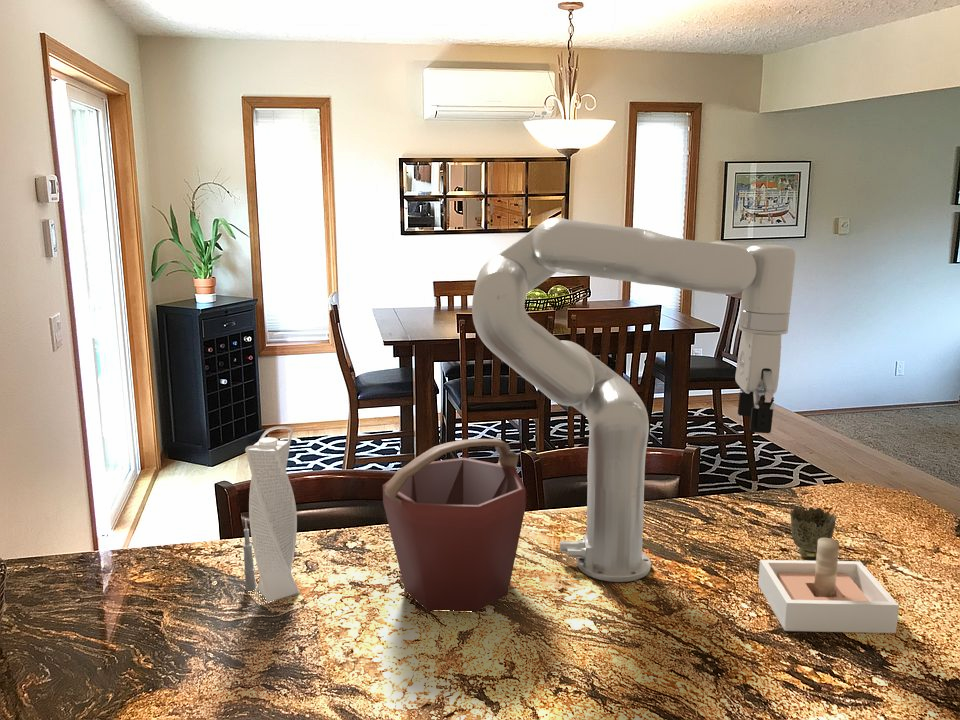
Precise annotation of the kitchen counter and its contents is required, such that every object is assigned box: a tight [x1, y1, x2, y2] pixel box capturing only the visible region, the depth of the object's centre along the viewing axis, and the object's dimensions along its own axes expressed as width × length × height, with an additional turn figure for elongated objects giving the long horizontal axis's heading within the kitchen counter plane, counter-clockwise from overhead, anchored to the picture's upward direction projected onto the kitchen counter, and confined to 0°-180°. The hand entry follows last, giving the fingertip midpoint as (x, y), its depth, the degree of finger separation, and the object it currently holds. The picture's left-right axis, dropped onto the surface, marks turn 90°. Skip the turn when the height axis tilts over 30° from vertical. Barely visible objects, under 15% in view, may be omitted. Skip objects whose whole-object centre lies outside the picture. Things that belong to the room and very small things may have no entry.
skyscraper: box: [242, 425, 301, 606], centre depth 130 cm, size 8×8×28 cm
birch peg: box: [813, 538, 840, 597], centre depth 124 cm, size 3×3×10 cm
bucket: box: [382, 438, 527, 613], centre depth 130 cm, size 24×22×25 cm
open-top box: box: [757, 559, 900, 634], centre depth 125 cm, size 16×14×4 cm
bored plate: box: [777, 573, 869, 601], centre depth 125 cm, size 11×11×2 cm
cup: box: [790, 506, 837, 561], centre depth 142 cm, size 8×7×8 cm
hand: (753, 423), depth 134 cm, fingers open, 9 cm apart
